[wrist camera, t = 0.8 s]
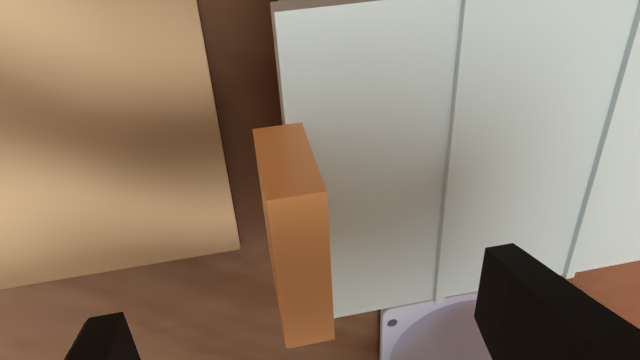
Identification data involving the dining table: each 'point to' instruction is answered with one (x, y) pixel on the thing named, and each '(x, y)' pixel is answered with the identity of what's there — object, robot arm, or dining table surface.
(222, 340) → the dining table surface
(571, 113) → the lid
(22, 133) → the cork mat
